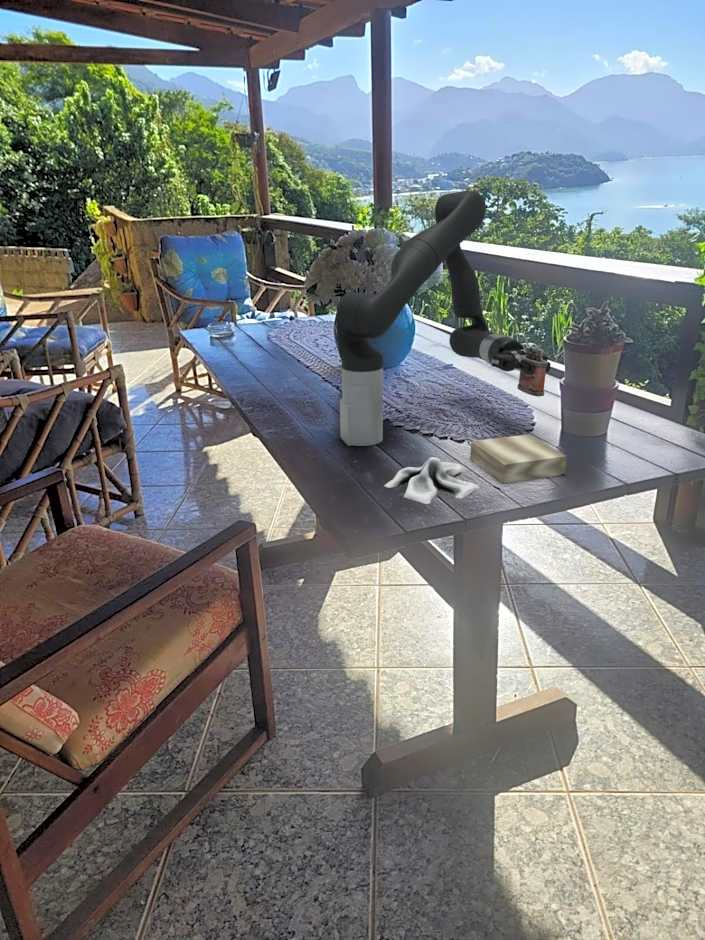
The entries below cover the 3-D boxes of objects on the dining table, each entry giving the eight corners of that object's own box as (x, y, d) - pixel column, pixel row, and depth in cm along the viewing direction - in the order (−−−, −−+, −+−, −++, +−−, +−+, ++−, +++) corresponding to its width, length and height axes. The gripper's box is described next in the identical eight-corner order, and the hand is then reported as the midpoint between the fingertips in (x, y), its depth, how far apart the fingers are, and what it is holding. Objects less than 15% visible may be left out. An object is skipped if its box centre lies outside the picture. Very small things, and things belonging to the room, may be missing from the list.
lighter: (514, 388, 153) (518, 344, 149) (526, 386, 154) (530, 343, 150) (534, 397, 146) (539, 351, 142) (547, 395, 147) (552, 350, 143)
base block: (502, 483, 130) (504, 464, 129) (470, 458, 143) (471, 441, 141) (564, 474, 134) (566, 456, 133) (527, 451, 147) (529, 434, 145)
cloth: (453, 462, 143) (455, 435, 141) (499, 495, 127) (501, 465, 124) (356, 476, 136) (356, 448, 134) (391, 513, 120) (392, 482, 118)
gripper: (475, 338, 157) (513, 353, 141) (528, 334, 160) (570, 349, 145) (473, 369, 159) (510, 387, 144) (525, 365, 163) (566, 382, 148)
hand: (540, 368), depth 145 cm, fingers closed on lighter, 3 cm apart
